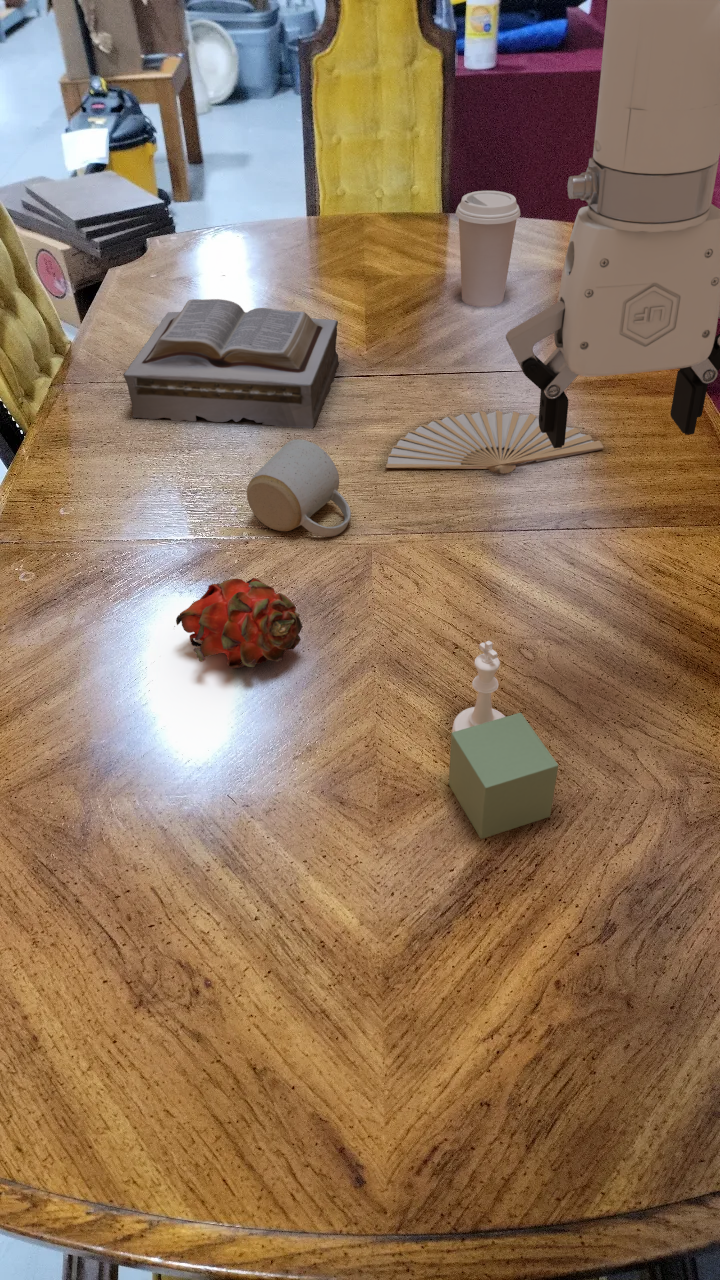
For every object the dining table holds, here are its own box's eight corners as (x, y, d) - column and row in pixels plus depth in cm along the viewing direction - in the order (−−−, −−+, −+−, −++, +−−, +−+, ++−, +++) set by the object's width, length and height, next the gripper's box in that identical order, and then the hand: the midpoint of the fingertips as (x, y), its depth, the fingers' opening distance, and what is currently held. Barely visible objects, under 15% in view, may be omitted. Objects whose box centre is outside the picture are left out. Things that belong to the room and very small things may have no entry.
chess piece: (478, 762, 81) (486, 672, 75) (440, 727, 84) (444, 639, 78) (522, 735, 84) (533, 646, 77) (483, 703, 87) (491, 614, 80)
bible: (189, 342, 145) (180, 275, 139) (363, 366, 138) (362, 296, 131) (107, 415, 128) (93, 342, 122) (300, 446, 121) (295, 371, 115)
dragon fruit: (313, 681, 92) (194, 678, 95) (321, 592, 94) (204, 592, 97) (282, 660, 84) (154, 657, 87) (292, 564, 86) (166, 565, 89)
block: (514, 763, 81) (521, 711, 77) (550, 817, 77) (559, 765, 73) (448, 784, 80) (451, 732, 76) (480, 840, 75) (485, 787, 72)
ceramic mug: (244, 525, 108) (238, 464, 103) (284, 489, 114) (280, 430, 109) (327, 553, 104) (325, 491, 99) (365, 514, 110) (365, 454, 105)
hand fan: (613, 466, 116) (574, 406, 127) (614, 460, 116) (575, 400, 127) (391, 487, 114) (371, 424, 125) (391, 481, 113) (371, 418, 124)
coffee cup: (451, 287, 159) (455, 189, 149) (510, 287, 158) (518, 188, 149) (452, 311, 152) (457, 209, 142) (515, 311, 151) (524, 209, 141)
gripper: (529, 220, 59) (514, 470, 70) (811, 195, 60) (752, 446, 71) (501, 182, 64) (491, 419, 76) (760, 160, 65) (712, 397, 76)
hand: (617, 432), depth 73 cm, fingers open, 9 cm apart
